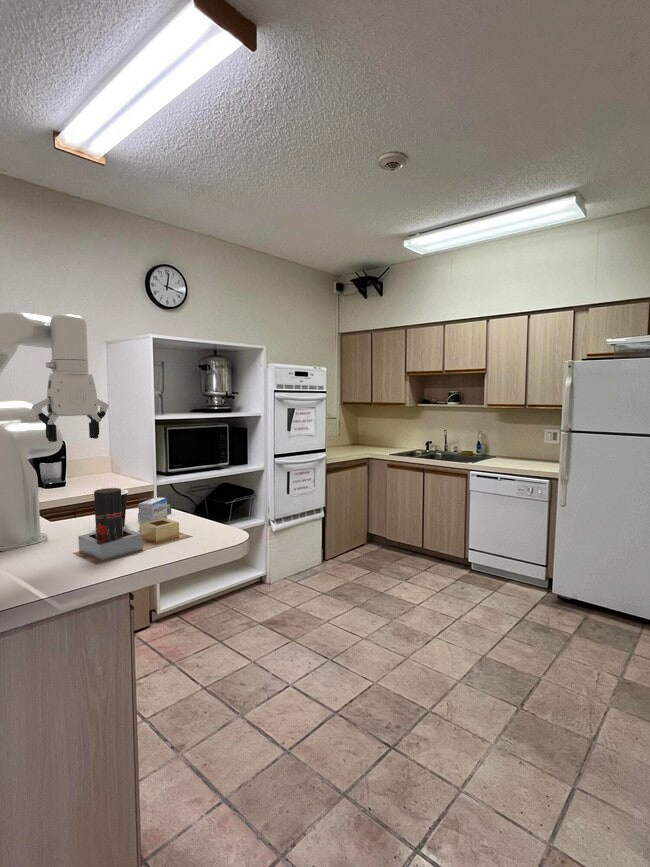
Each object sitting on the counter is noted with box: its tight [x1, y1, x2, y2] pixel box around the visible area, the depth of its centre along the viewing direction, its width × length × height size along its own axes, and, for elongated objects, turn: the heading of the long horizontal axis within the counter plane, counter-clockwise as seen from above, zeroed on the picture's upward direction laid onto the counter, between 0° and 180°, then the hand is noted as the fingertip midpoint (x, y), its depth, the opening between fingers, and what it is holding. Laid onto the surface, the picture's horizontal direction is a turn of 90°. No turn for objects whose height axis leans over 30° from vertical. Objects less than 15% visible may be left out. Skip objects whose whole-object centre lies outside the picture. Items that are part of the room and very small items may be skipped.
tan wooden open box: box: [140, 518, 180, 543], centre depth 125 cm, size 7×7×4 cm
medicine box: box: [137, 497, 168, 531], centre depth 135 cm, size 8×4×9 cm, turn 168°
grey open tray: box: [78, 527, 143, 562], centre depth 114 cm, size 10×10×4 cm
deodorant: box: [93, 487, 124, 542], centre depth 114 cm, size 6×6×15 cm
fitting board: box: [72, 531, 194, 565], centre depth 119 cm, size 12×26×1 cm, turn 142°
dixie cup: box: [120, 488, 129, 527], centre depth 135 cm, size 8×8×11 cm
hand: (73, 439), depth 112 cm, fingers open, 9 cm apart
